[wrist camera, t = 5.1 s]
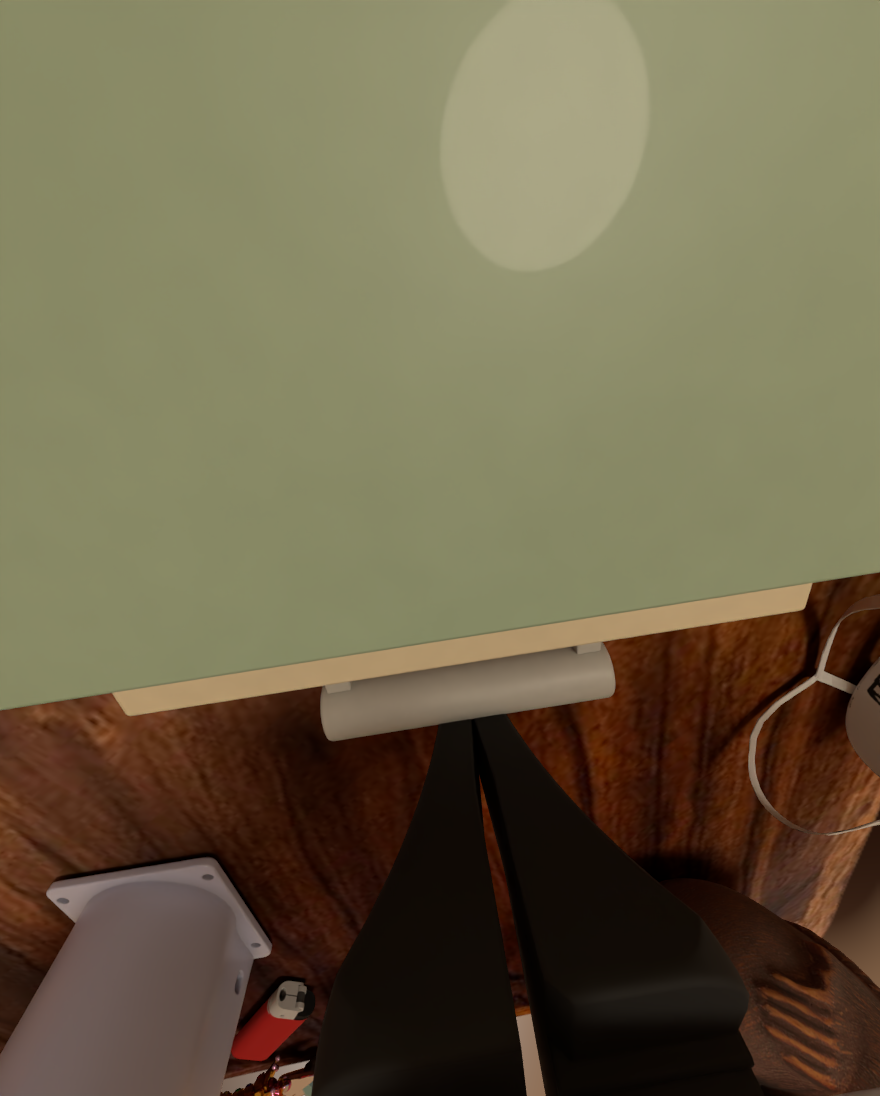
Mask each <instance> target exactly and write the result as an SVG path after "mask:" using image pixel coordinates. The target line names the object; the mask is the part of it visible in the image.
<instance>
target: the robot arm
mask: <svg viewBox="0 0 880 1096" xmlns="http://www.w3.org/2000/svg"><path fill="white" fill-rule="evenodd" d="M479 775H480V779H481V783H482V786H483V790H484V794H485V798H486V802H487V805H488V809H489V813H490V817H491V820H492V824H493V828H494V832H495V836H496V839H497V843H498V847H499V851H500V854H501V858H502V863H503V867H504V871H505V876H506V881H507V886H508V891H509V897H510V902H511V907H512V913H513V918H514V923H515V929H516V934H517V940H518V945H519V950H520V956H521V961H522V967H523V972H524V978H525V983H526V989H527V994H528V1000H529V1005H530V1011H531V1015H532V1021H533V1027H534V1032H535V1038H536V1044H537V1049H538V1055H539V1060H540V1066H541V1071H542V1077H543V1082H544V1088H545V1094H546V1096H765V1095H764V1093H763V1091H762V1089H761V1087H760V1085H759V1083H758V1081H757V1079H756V1077H755V1074H754V1072H753V1070H752V1068H753V1067H754V1065H755V1064H754V1061H753V1057H752V1055H751V1053H750V1051H749V1049H748V1047H747V1045H746V1043H745V1041H744V1039H743V1037H742V1035H741V1033H740V1031H739V1027H740V1025H741V1023H742V1021H743V1019H744V1016H745V1014H746V1012H747V1010H748V1003H749V996H750V994H749V992H748V991H747V989H746V987H745V985H744V982H743V980H742V978H741V976H740V974H739V973H738V971H737V969H736V968H735V966H734V964H733V963H732V961H731V960H730V958H729V957H728V955H727V953H726V952H725V950H724V949H723V947H722V946H721V944H720V943H719V941H718V940H717V939H716V937H715V936H714V934H713V933H712V932H711V930H710V929H709V927H708V926H707V925H706V923H705V922H704V921H703V919H702V918H701V917H700V916H699V915H698V914H697V913H696V912H695V911H693V910H692V909H691V908H690V907H688V906H687V905H686V904H685V903H683V902H682V901H681V900H680V899H678V898H677V897H676V896H675V895H673V894H672V893H671V892H670V891H669V890H667V889H666V888H665V887H664V886H663V885H661V884H660V883H659V882H658V881H657V880H655V879H654V878H653V877H652V876H651V875H650V874H648V873H647V872H646V871H645V870H644V869H643V868H642V867H640V866H639V865H638V864H637V863H636V862H635V861H634V860H633V859H631V858H630V857H629V856H628V855H627V854H626V853H625V852H624V851H623V850H622V849H621V848H620V847H618V846H617V845H616V844H615V843H614V842H613V841H612V840H611V839H610V838H609V837H608V836H607V835H606V834H605V833H604V832H603V831H602V830H601V829H600V828H599V827H598V826H597V825H595V824H594V823H593V822H592V821H591V820H590V819H589V818H588V816H587V815H586V814H585V813H584V812H583V811H582V810H581V809H580V808H579V807H578V806H577V805H576V804H575V803H574V802H573V801H572V800H571V798H570V797H569V796H568V795H567V794H566V793H565V792H564V791H563V789H562V788H561V787H560V786H559V785H558V784H557V783H556V781H555V780H554V779H553V778H552V777H551V775H550V774H549V773H548V772H547V771H546V769H545V768H544V767H543V765H542V764H541V763H540V762H539V760H538V759H537V758H536V757H535V755H534V754H533V753H532V751H531V750H530V749H529V747H528V746H527V744H526V743H525V742H524V740H523V739H522V737H521V736H520V734H519V733H518V732H517V730H516V729H515V727H514V726H513V724H512V723H511V721H510V720H509V718H508V716H507V715H506V714H499V715H493V716H486V717H480V718H474V719H467V720H461V721H455V722H448V723H442V724H439V726H438V732H437V737H436V741H435V746H434V750H433V755H432V759H431V762H430V766H429V769H428V773H427V776H426V780H425V783H424V787H423V790H422V793H421V796H420V799H419V802H418V805H417V808H416V810H415V813H414V816H413V818H412V821H411V824H410V827H409V829H408V831H407V834H406V836H405V839H404V841H403V844H402V846H401V849H400V851H399V853H398V856H397V858H396V860H395V863H394V865H393V867H392V869H391V871H390V874H389V876H388V878H387V880H386V882H385V884H384V886H383V888H382V890H381V892H380V894H379V896H378V898H377V900H376V902H375V904H374V906H373V908H372V910H371V912H370V914H369V916H368V918H367V920H366V922H365V924H364V926H363V928H362V929H361V931H360V933H359V935H358V937H357V938H356V940H355V942H354V944H353V945H352V947H351V949H350V951H349V953H348V954H347V956H346V958H345V960H344V962H343V963H342V965H341V967H340V969H339V971H338V973H337V975H336V978H335V981H334V984H333V987H332V991H331V994H330V997H329V1001H328V1004H327V1008H326V1012H325V1016H324V1019H323V1024H322V1028H321V1033H320V1038H319V1043H318V1048H317V1054H316V1062H315V1070H314V1078H313V1085H312V1093H311V1096H527V1095H526V1086H525V1077H524V1068H523V1059H522V1051H521V1045H520V1039H519V1032H518V1027H517V1020H516V1015H515V1009H514V1003H513V997H512V991H511V986H510V980H509V974H508V969H507V963H506V957H505V952H504V946H503V941H502V935H501V929H500V924H499V918H498V912H497V907H496V901H495V895H494V889H493V884H492V878H491V872H490V867H489V861H488V855H487V849H486V843H485V838H484V827H483V815H482V803H481V792H480V780H479ZM46 895H47V896H48V898H49V899H50V900H51V901H53V902H54V903H55V904H56V905H57V906H58V907H59V908H60V909H61V910H62V911H63V912H64V913H65V914H66V915H67V916H68V917H69V918H70V919H72V920H73V921H74V922H75V923H76V924H75V925H74V927H73V929H72V931H71V932H70V934H69V936H68V938H67V939H66V941H65V943H64V945H63V946H62V948H61V950H60V951H59V953H58V955H57V957H56V958H55V960H54V962H53V964H52V965H51V967H50V969H49V971H48V972H47V974H46V976H45V978H44V979H43V981H42V983H41V985H40V986H39V988H38V990H37V992H36V993H35V995H34V997H33V998H32V1000H31V1002H30V1004H29V1005H28V1007H27V1009H26V1011H25V1012H24V1014H23V1016H22V1018H21V1019H20V1021H19V1023H18V1025H17V1026H16V1028H15V1030H14V1032H13V1033H12V1035H11V1037H10V1038H9V1040H8V1042H7V1044H6V1045H5V1047H4V1049H3V1051H2V1052H1V1054H0V1096H220V1092H221V1088H222V1084H223V1080H224V1076H225V1072H226V1068H227V1064H228V1060H229V1056H230V1052H231V1048H232V1044H233V1040H234V1036H235V1032H236V1028H237V1024H238V1020H239V1016H240V1012H241V1008H242V1004H243V1000H244V996H245V992H246V987H247V983H248V979H249V975H250V971H251V967H252V963H253V959H256V958H262V957H266V956H268V955H269V954H270V953H271V949H272V944H271V942H270V941H269V939H268V938H267V936H266V935H265V933H264V932H263V930H262V929H261V927H260V926H259V924H258V922H257V921H256V919H255V918H254V916H253V915H252V913H251V912H250V910H249V909H248V907H247V906H246V904H245V903H244V901H243V900H242V898H241V897H240V895H239V894H238V892H237V891H236V889H235V888H234V886H233V885H232V883H231V882H230V880H229V879H228V877H227V876H226V874H225V873H224V871H223V870H222V868H221V867H220V865H219V864H218V862H217V861H216V860H215V859H214V858H211V857H202V858H196V859H189V860H183V861H177V862H171V863H165V864H159V865H152V866H146V867H140V868H134V869H128V870H122V871H115V872H109V873H103V874H97V875H91V876H85V877H78V878H72V879H66V880H60V881H56V882H54V883H52V884H51V886H50V887H49V889H48V890H47V892H46ZM834 1096H880V1087H879V1088H873V1089H868V1090H862V1091H856V1092H851V1093H845V1094H839V1095H834Z"/></svg>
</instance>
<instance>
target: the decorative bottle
mask: <svg viewBox="0 0 880 1096" xmlns="http://www.w3.org/2000/svg"><path fill="white" fill-rule="evenodd" d="M279 1060H280V1055H279V1054H278V1055H277V1056H276V1060H275V1061H274V1063H273V1064H272V1065H271V1067H270V1068H269V1069H268V1070H267V1071H266V1073H264V1072H263V1073H262V1074H260V1075H259V1076H258V1077H257V1079H256V1081H255V1083H254V1085H253V1084H251V1083H250V1084H248V1085H247V1086H246V1087H245V1089H244V1088H242V1089H241V1088H239V1089H237V1090H236V1091H235V1092H234V1093H233V1094H232V1093H230V1092H229V1091H226V1092H224V1093H222V1092H220V1096H302V1095H305V1096H311V1093H312V1085H313V1078H314V1070H315V1062H316V1057H314V1058H312V1059H311V1060H310V1061H309V1062H308V1063H307V1064H306V1065H305V1067H304V1068H302V1069H299V1070H295V1071H292V1072H289V1073H286V1074H283V1075H282V1076H280V1078H279V1079H278V1081H277V1079H275V1078H274V1077H273V1076H274V1074H275V1072H277V1071H278V1069H279V1065H277V1064H276V1061H279Z"/></svg>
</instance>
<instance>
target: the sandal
mask: <svg viewBox="0 0 880 1096" xmlns="http://www.w3.org/2000/svg"><path fill="white" fill-rule="evenodd" d="M870 609H880V595H874V596H870V597H866V598H863V599H861V600H859V601H857V602H855V603H854V604H853V605H851V606H850V607H849V608H848V610H847V611H846V612H845V613H844V614H843V616H842V617H841V618H840V620H839V621H838V623H837V624H836V625H835V627H834V629H833V630H832V632H831V634H830V636H829V638H828V640H827V642H826V645H825V648H824V650H823V653H822V656H821V659H820V662H819V665H818V668H817V671H816V674H815V675H814V676H813V677H811V678H810V679H808V680H807V681H805V682H804V683H803V684H801V685H800V686H798V687H797V688H795V689H794V690H792V691H791V692H789V693H788V694H786V695H785V696H783V697H782V698H780V699H779V700H777V701H776V702H775V703H774V704H773V705H772V706H771V707H770V708H769V709H768V710H767V711H766V712H765V713H764V714H763V715H762V716H761V717H760V718H759V719H758V721H757V723H756V725H755V727H754V729H753V731H752V733H751V736H750V743H749V761H748V767H749V775H750V779H751V783H752V786H753V789H754V791H755V793H756V795H757V797H758V798H759V800H760V802H761V803H762V804H763V806H764V807H765V808H766V809H767V810H768V811H769V812H770V813H771V814H772V815H773V816H774V817H775V818H776V819H778V820H779V821H781V822H782V823H784V824H785V825H787V826H789V827H791V828H793V829H796V830H799V831H801V832H805V833H810V834H825V835H836V834H841V833H845V832H849V831H854V830H858V829H862V828H867V827H871V826H875V825H879V824H880V820H877V821H874V822H871V823H868V824H865V825H861V826H858V827H855V828H852V829H849V830H844V831H838V832H832V833H817V832H813V831H809V830H806V829H803V828H801V827H799V826H796V825H795V824H793V823H791V822H790V821H788V820H786V819H785V818H784V817H783V816H781V815H780V814H779V813H778V812H777V811H776V810H775V809H774V808H773V807H772V806H771V805H770V804H769V802H768V801H767V799H766V798H765V796H764V794H763V793H762V791H761V789H760V786H759V783H758V780H757V776H756V772H755V760H754V758H755V751H756V739H757V737H758V734H759V732H760V730H761V727H762V725H763V723H764V722H765V721H766V720H767V719H768V718H769V717H770V715H771V714H772V713H773V712H774V711H775V710H776V709H777V708H778V707H779V706H780V705H781V704H783V703H784V702H786V701H787V700H789V699H790V698H792V697H793V696H795V695H796V694H798V693H799V692H801V691H802V690H804V689H805V688H807V687H808V686H810V685H811V684H813V683H814V682H815V681H816V680H818V681H820V682H823V683H826V684H828V685H831V686H833V687H836V688H838V689H841V690H843V691H845V692H848V693H850V694H852V696H851V698H850V701H849V703H848V707H847V712H846V721H845V724H846V731H847V735H848V738H849V740H850V742H851V744H852V746H853V748H854V750H855V751H856V753H857V754H858V755H859V757H860V758H861V759H862V760H863V762H864V763H865V764H866V765H867V766H868V767H869V768H870V769H871V770H872V771H873V772H874V773H875V774H877V775H878V776H879V777H880V657H879V658H878V659H877V660H876V661H875V663H874V664H873V665H872V666H871V667H870V669H869V670H868V671H867V672H866V674H865V675H864V676H863V678H862V679H861V681H860V682H859V684H858V685H857V686H855V685H854V684H851V683H849V682H847V681H845V680H843V679H840V678H838V677H836V676H834V675H831V674H829V673H827V672H825V671H824V668H825V664H826V661H827V657H828V654H829V651H830V647H831V644H832V641H833V638H834V636H835V633H836V631H837V628H838V626H839V624H840V622H841V621H842V620H843V619H844V618H845V617H847V616H849V615H850V614H852V613H855V612H858V611H862V610H870Z"/></svg>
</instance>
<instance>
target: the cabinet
mask: <svg viewBox="0 0 880 1096" xmlns="http://www.w3.org/2000/svg"><path fill="white" fill-rule="evenodd" d="M879 572H880V0H0V710H6V709H12V708H19V707H25V706H31V705H38V704H44V703H50V702H57V701H63V700H70V699H76V698H82V697H89V696H95V695H101V694H108V693H114V692H121V691H127V690H133V689H140V688H146V687H152V686H159V685H165V684H171V683H178V682H184V681H191V680H197V679H203V678H210V677H216V676H222V675H229V674H235V673H242V672H248V671H254V670H261V669H267V668H273V667H280V666H286V665H293V664H299V663H305V662H312V661H318V660H324V659H331V658H337V657H344V656H350V655H356V654H363V653H369V652H375V651H382V650H388V649H394V648H401V647H407V646H414V645H420V644H426V643H433V642H439V641H445V640H452V639H458V638H465V637H471V636H477V635H484V634H490V633H496V632H503V631H509V630H516V629H522V628H528V627H535V626H541V625H547V624H554V623H560V622H566V621H573V620H579V619H586V618H592V617H598V616H605V615H611V614H617V613H624V612H630V611H637V610H643V609H649V608H656V607H662V606H668V605H675V604H681V603H688V602H694V601H700V600H707V599H713V598H719V597H726V596H732V595H738V594H745V593H751V592H758V591H764V590H770V589H777V588H783V587H789V586H796V585H802V584H809V583H815V582H821V581H828V580H834V579H840V578H847V577H853V576H860V575H866V574H872V573H879Z"/></svg>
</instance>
